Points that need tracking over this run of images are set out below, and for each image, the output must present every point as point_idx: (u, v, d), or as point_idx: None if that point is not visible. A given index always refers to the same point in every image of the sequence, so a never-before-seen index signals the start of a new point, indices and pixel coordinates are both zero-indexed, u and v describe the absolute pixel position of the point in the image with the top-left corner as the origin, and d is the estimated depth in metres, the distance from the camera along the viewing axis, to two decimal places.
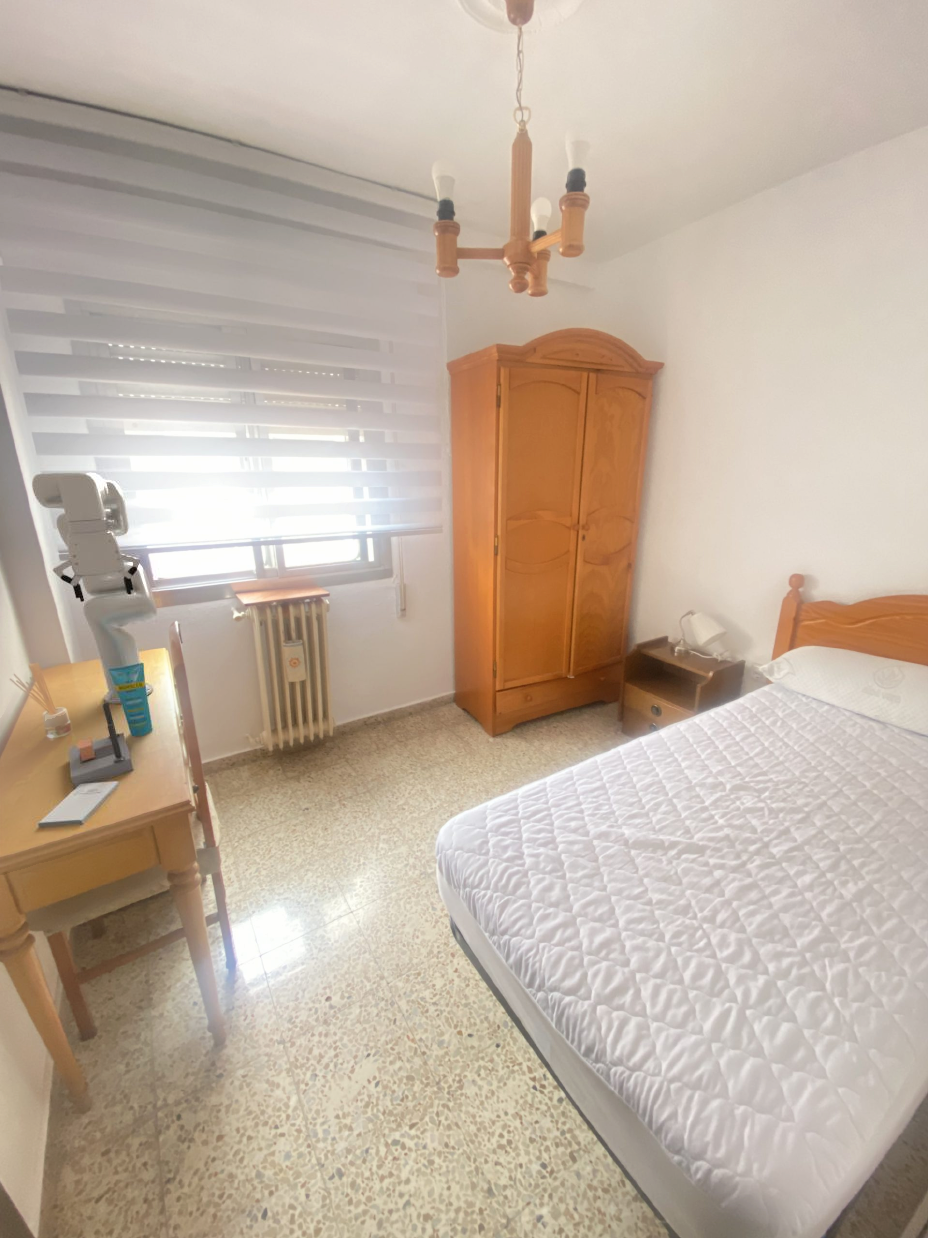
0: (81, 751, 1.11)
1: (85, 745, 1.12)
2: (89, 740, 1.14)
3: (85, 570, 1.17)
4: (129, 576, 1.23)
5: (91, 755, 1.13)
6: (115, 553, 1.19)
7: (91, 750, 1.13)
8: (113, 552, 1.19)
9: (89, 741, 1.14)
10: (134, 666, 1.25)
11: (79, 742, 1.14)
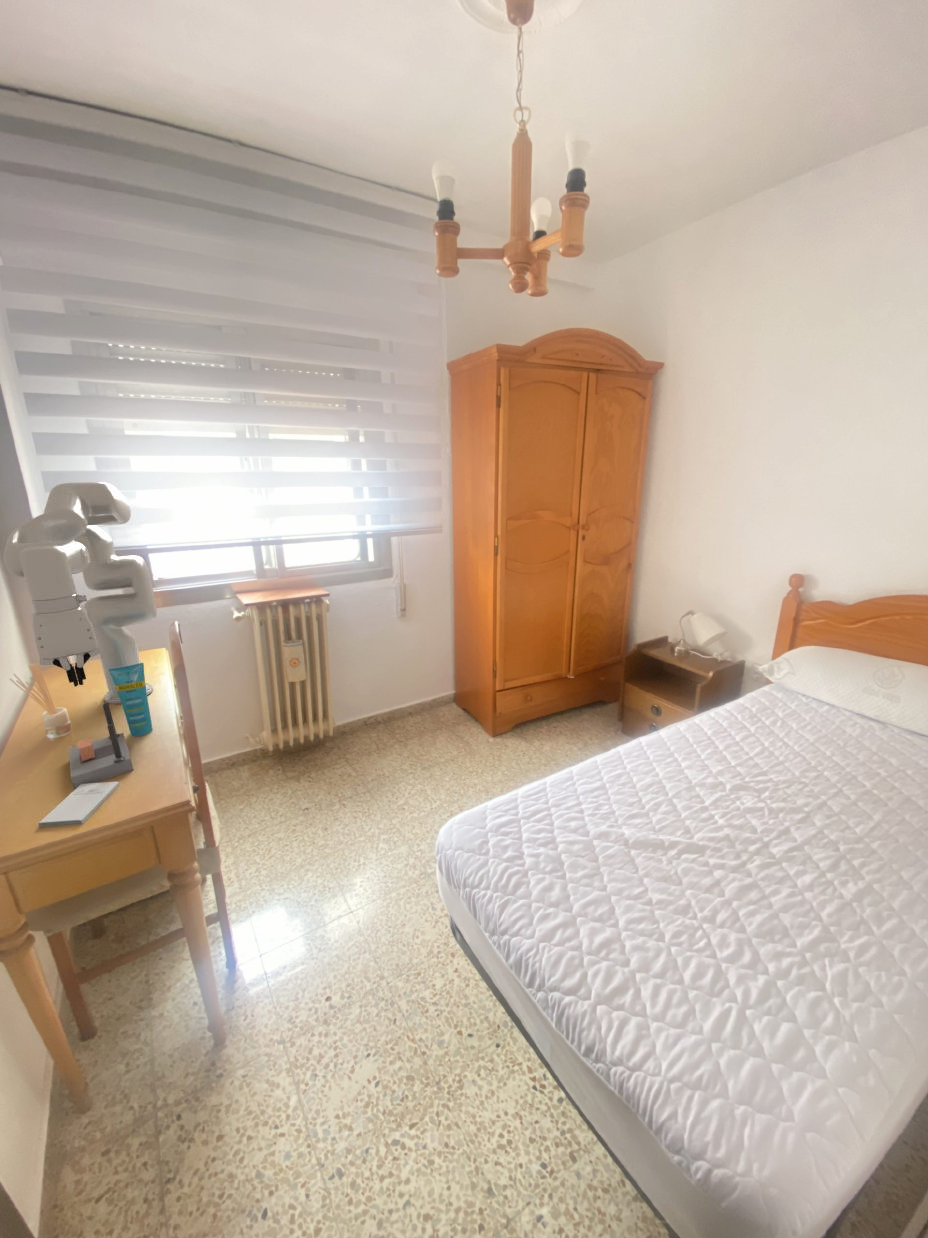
0: (81, 751, 1.11)
1: (85, 745, 1.12)
2: (89, 740, 1.14)
3: (52, 653, 1.04)
4: (80, 665, 1.08)
5: (91, 755, 1.13)
6: (87, 632, 1.07)
7: (91, 750, 1.13)
8: (84, 631, 1.06)
9: (89, 741, 1.14)
10: (134, 666, 1.25)
11: (79, 742, 1.14)
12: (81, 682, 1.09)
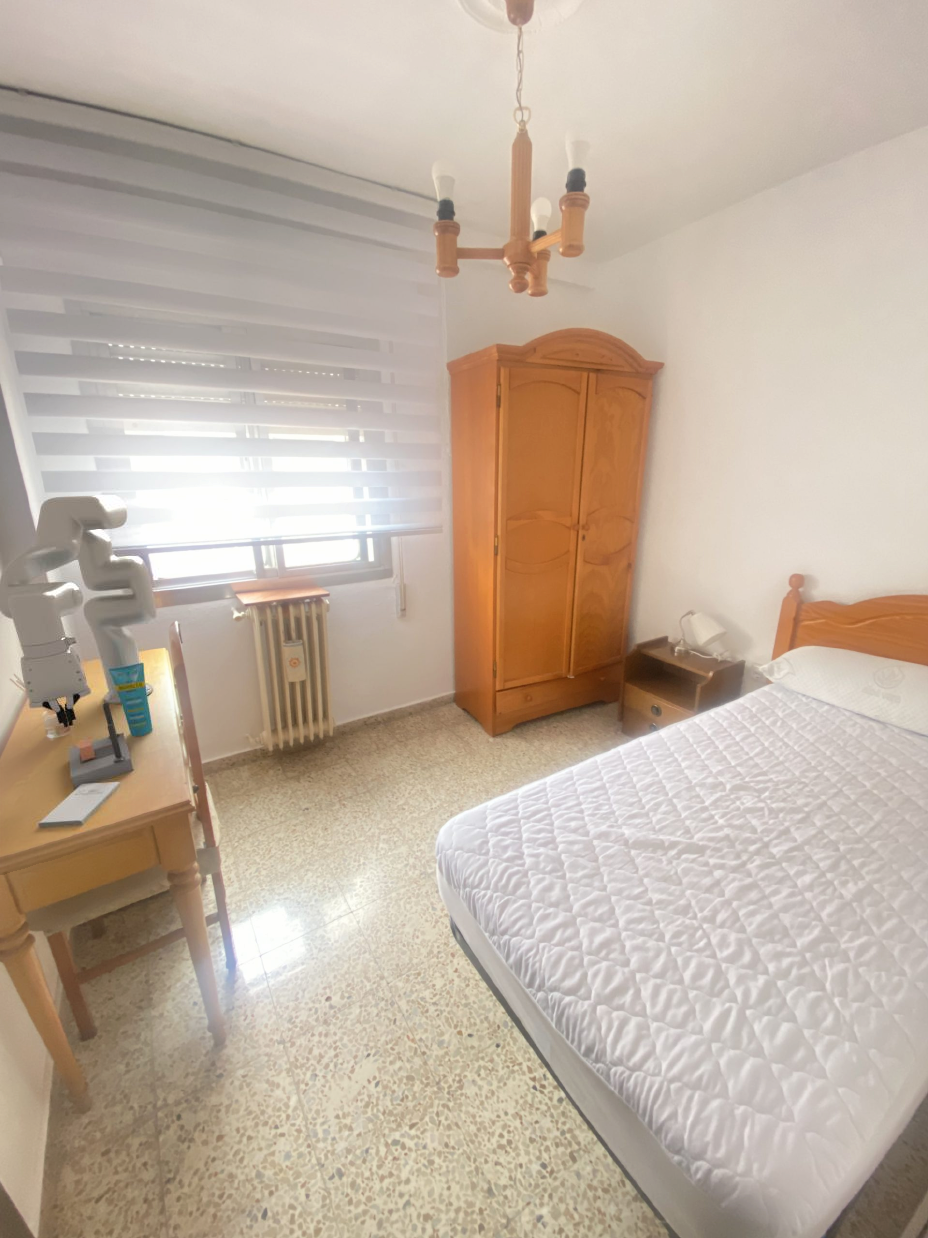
0: (81, 751, 1.11)
1: (85, 745, 1.12)
2: (89, 740, 1.14)
3: (42, 696, 1.04)
4: (70, 706, 1.09)
5: (91, 755, 1.13)
6: (76, 674, 1.07)
7: (91, 750, 1.13)
8: (74, 673, 1.07)
9: (89, 741, 1.14)
10: (134, 666, 1.25)
11: (79, 742, 1.14)
12: (71, 723, 1.09)
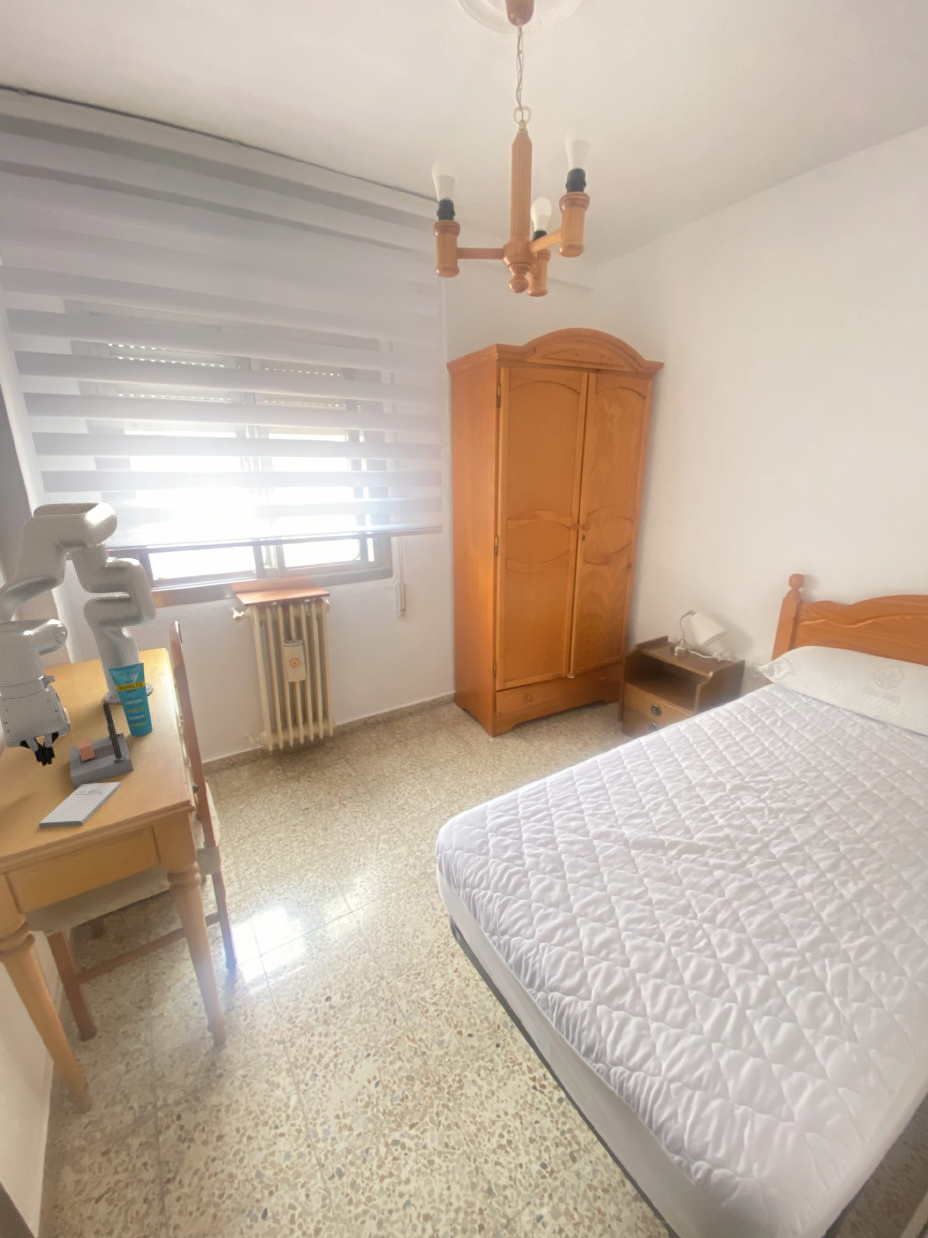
0: (81, 751, 1.11)
1: (85, 745, 1.12)
2: (89, 740, 1.14)
3: (19, 736, 1.04)
4: (49, 744, 1.08)
5: (91, 755, 1.13)
6: (55, 712, 1.06)
7: (91, 750, 1.13)
8: (52, 712, 1.06)
9: (89, 741, 1.14)
10: (134, 666, 1.25)
11: (79, 742, 1.14)
12: (49, 761, 1.08)
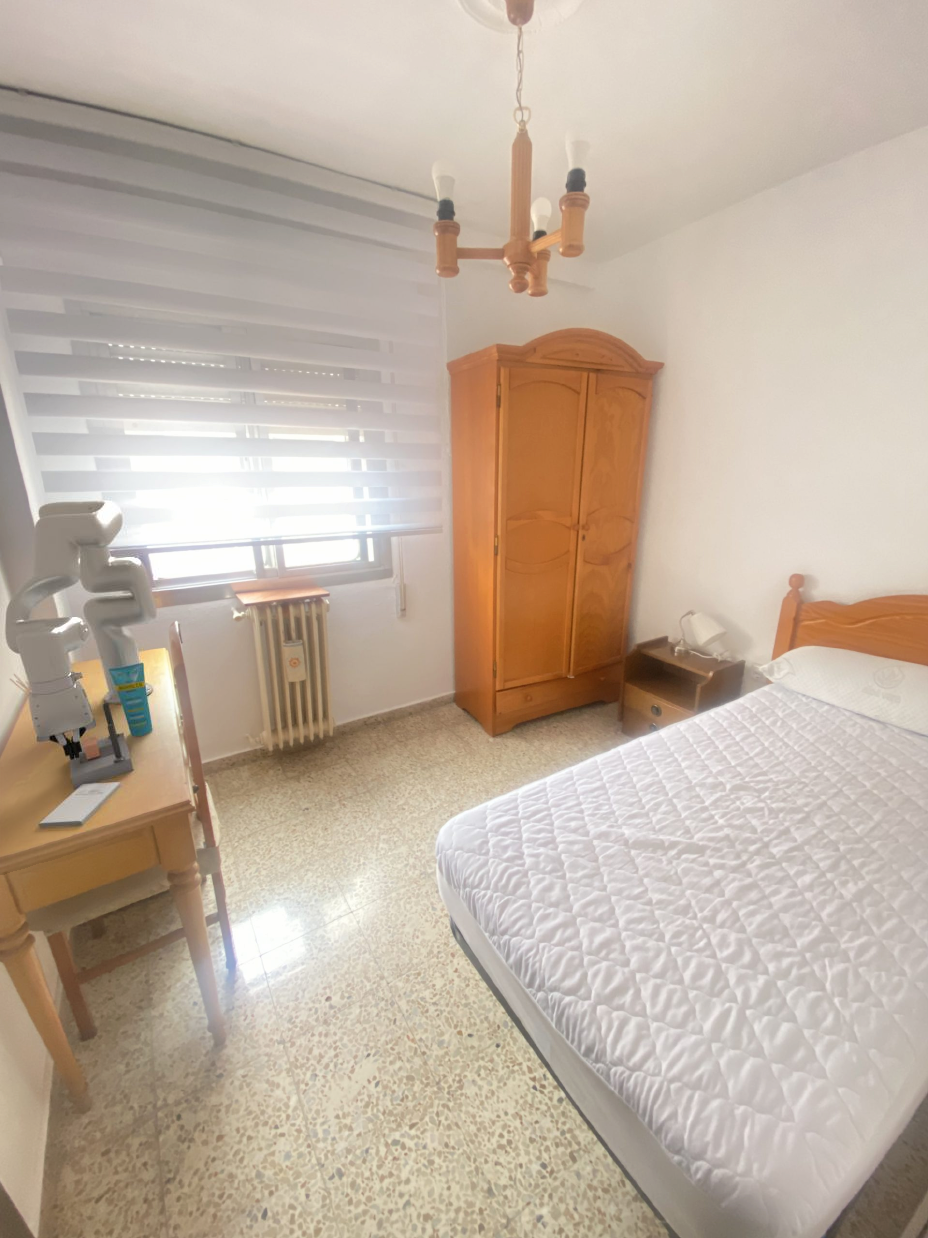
0: (86, 750, 1.12)
1: (90, 744, 1.13)
2: (94, 739, 1.15)
3: (49, 731, 1.07)
4: (76, 739, 1.11)
5: (96, 753, 1.13)
6: (82, 708, 1.10)
7: (96, 749, 1.13)
8: (80, 707, 1.09)
9: (94, 739, 1.15)
10: (134, 666, 1.25)
11: (84, 741, 1.14)
12: (77, 755, 1.12)
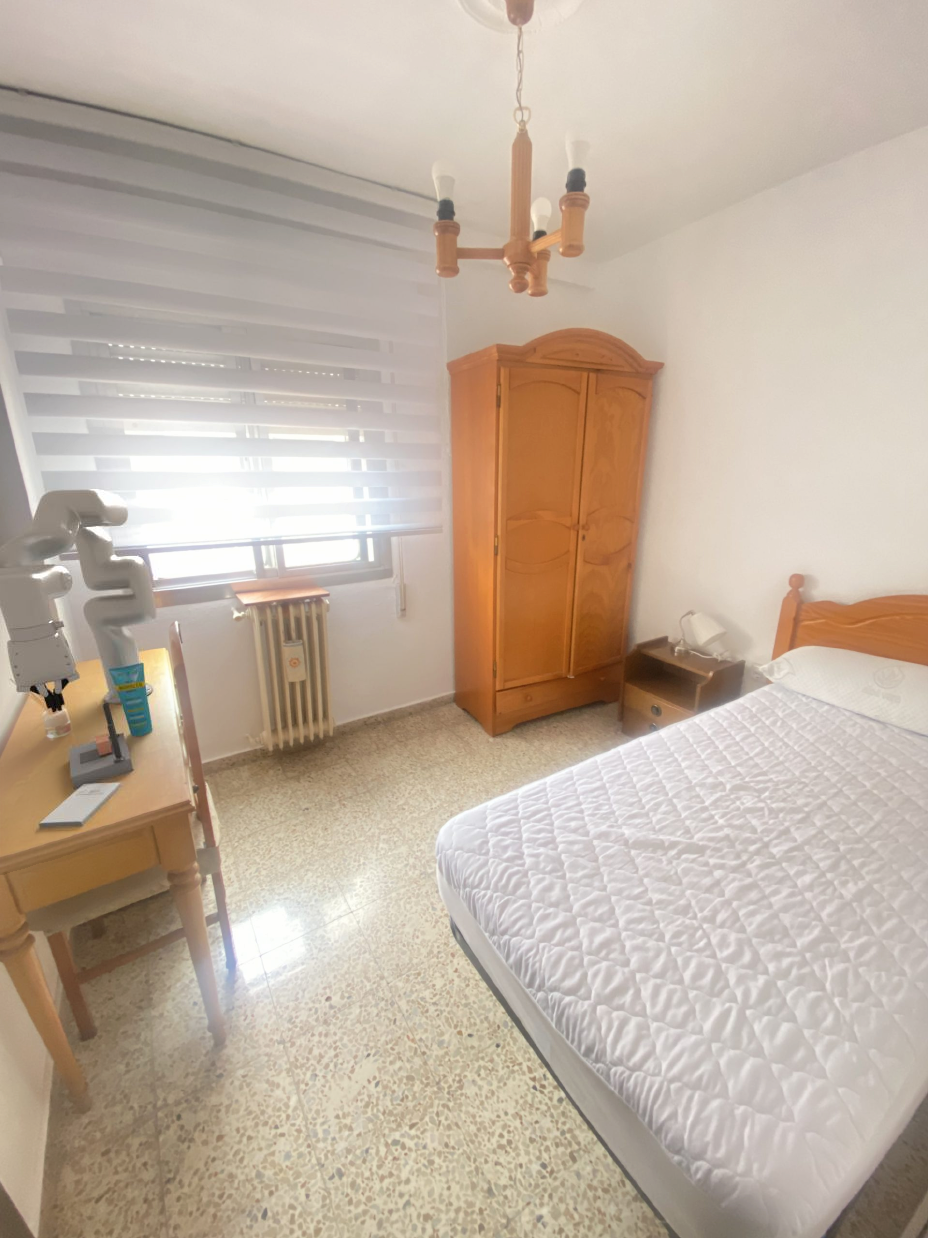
0: (98, 746, 1.13)
1: (103, 740, 1.14)
2: (106, 735, 1.16)
3: (29, 680, 1.03)
4: (59, 691, 1.07)
5: (108, 750, 1.15)
6: (64, 658, 1.06)
7: (108, 745, 1.15)
8: (62, 657, 1.05)
9: (106, 736, 1.16)
10: (134, 666, 1.25)
11: (96, 737, 1.16)
12: (59, 708, 1.08)
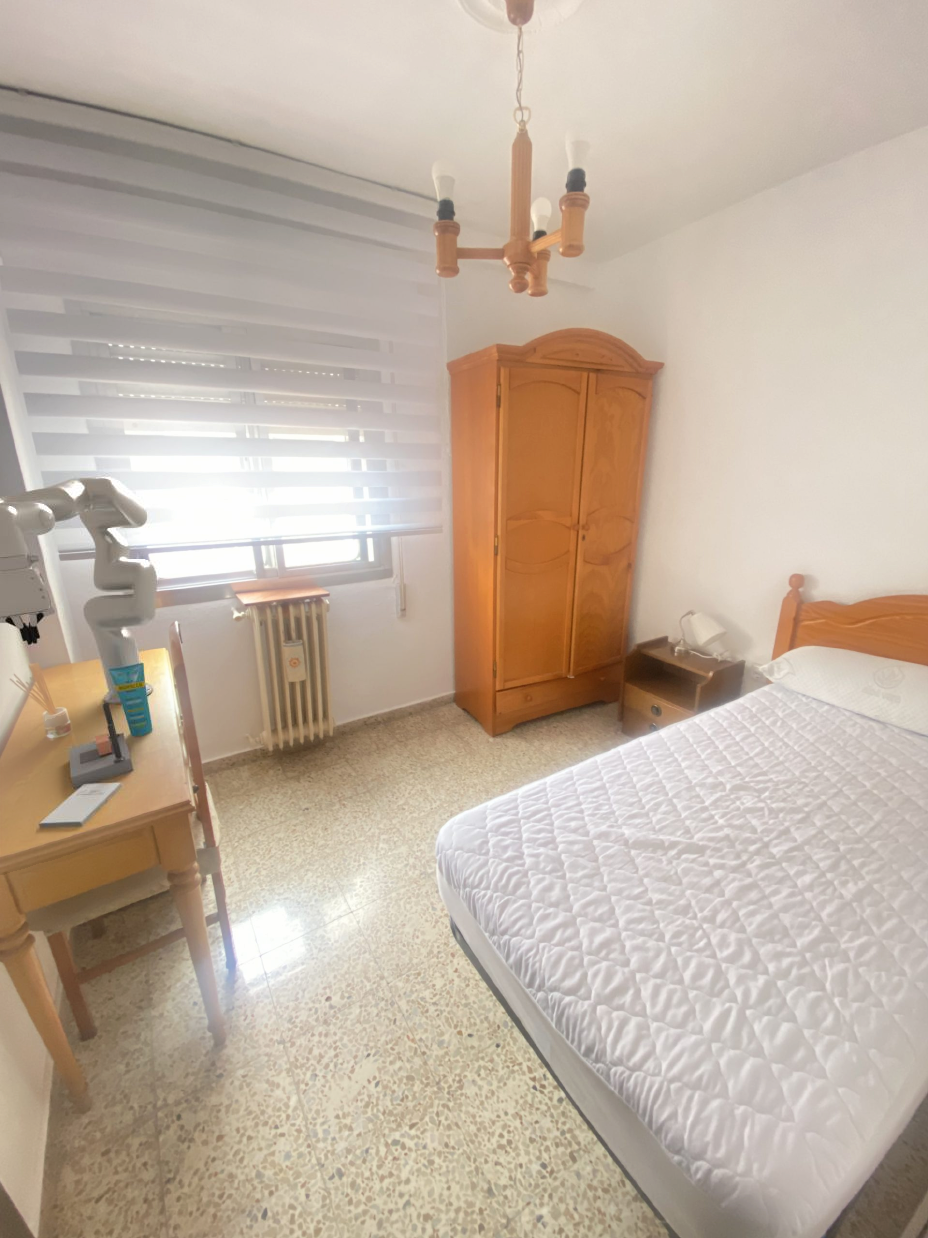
0: (98, 746, 1.13)
1: (103, 740, 1.14)
2: (106, 735, 1.16)
3: (4, 610, 1.07)
4: (34, 624, 1.11)
5: (108, 750, 1.15)
6: (39, 591, 1.10)
7: (108, 745, 1.15)
8: (37, 590, 1.09)
9: (106, 736, 1.16)
10: (134, 666, 1.25)
11: (96, 737, 1.16)
12: (35, 641, 1.12)
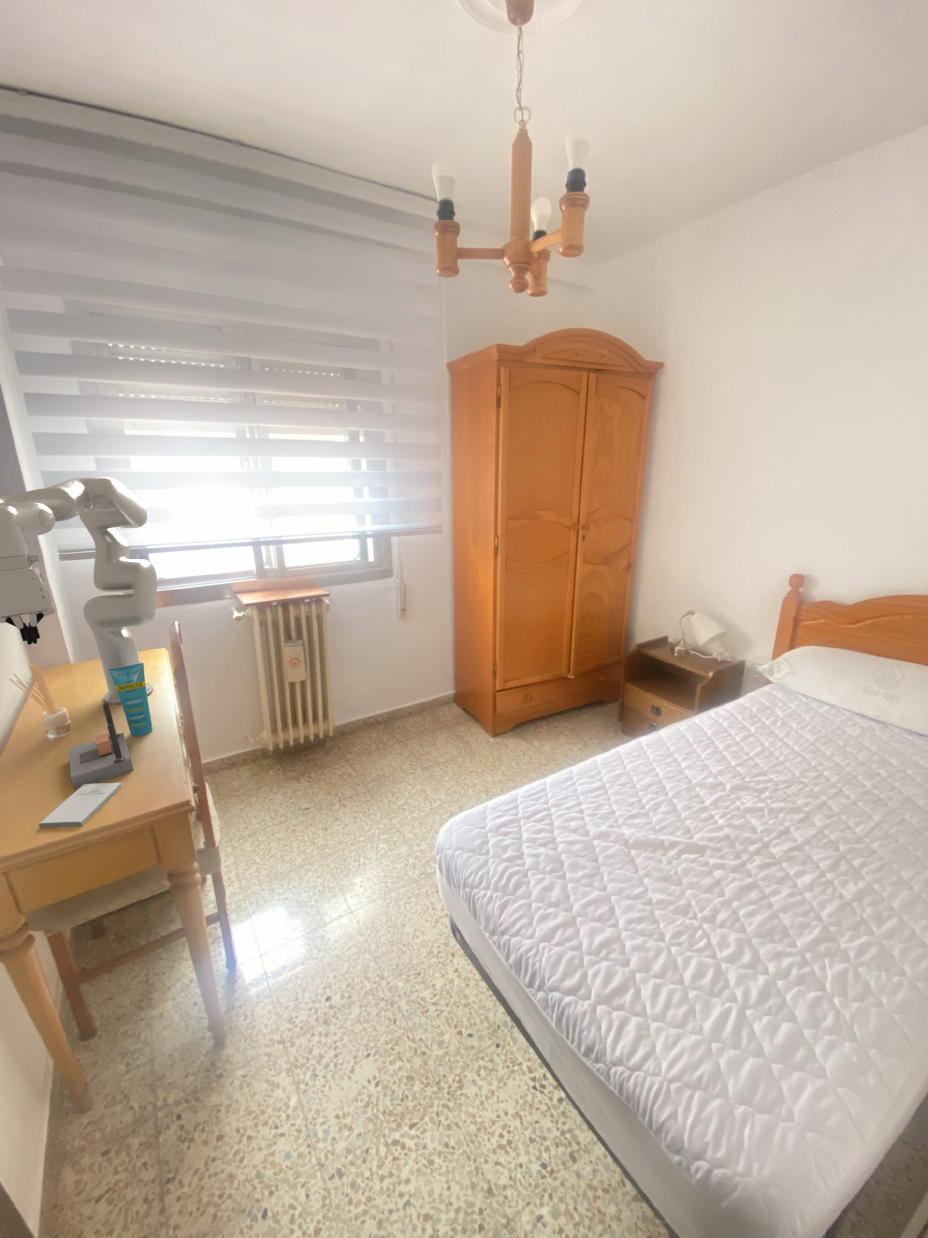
0: (98, 746, 1.13)
1: (103, 740, 1.14)
2: (106, 735, 1.16)
3: (4, 610, 1.07)
4: (34, 624, 1.11)
5: (108, 750, 1.15)
6: (39, 591, 1.10)
7: (108, 745, 1.15)
8: (37, 590, 1.09)
9: (106, 736, 1.16)
10: (134, 666, 1.25)
11: (96, 737, 1.16)
12: (34, 641, 1.12)
